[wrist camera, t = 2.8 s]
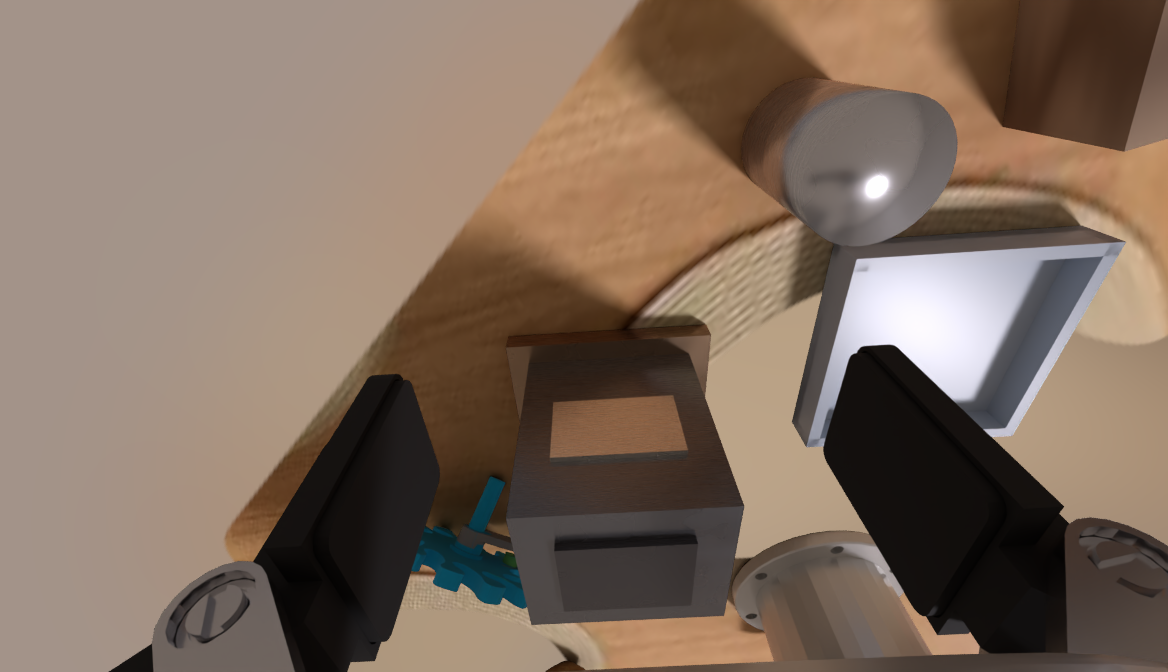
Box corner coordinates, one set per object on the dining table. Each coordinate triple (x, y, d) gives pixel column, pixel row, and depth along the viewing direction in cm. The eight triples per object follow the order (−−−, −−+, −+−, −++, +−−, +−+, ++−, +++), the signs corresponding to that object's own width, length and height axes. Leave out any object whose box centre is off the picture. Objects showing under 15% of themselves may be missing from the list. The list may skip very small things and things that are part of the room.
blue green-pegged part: (359, 527, 29) (391, 597, 21) (405, 438, 31) (451, 469, 22) (506, 568, 34) (578, 637, 26) (538, 489, 36) (616, 531, 28)
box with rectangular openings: (694, 451, 28) (747, 634, 20) (530, 460, 28) (510, 645, 20) (706, 324, 23) (782, 492, 15) (508, 336, 24) (468, 508, 15)
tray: (984, 410, 27) (1012, 435, 25) (792, 421, 27) (806, 447, 25) (1082, 225, 21) (1126, 241, 19) (834, 241, 21) (856, 259, 19)
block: (1142, 81, 18) (1315, 94, 14) (1001, 126, 19) (1124, 151, 15) (1186, -82, 15) (1417, -128, 11) (1021, -22, 16) (1178, -43, 12)
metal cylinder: (838, 190, 20) (928, 241, 15) (735, 197, 20) (789, 250, 15) (865, 73, 18) (982, 86, 13) (748, 82, 18) (817, 98, 13)
